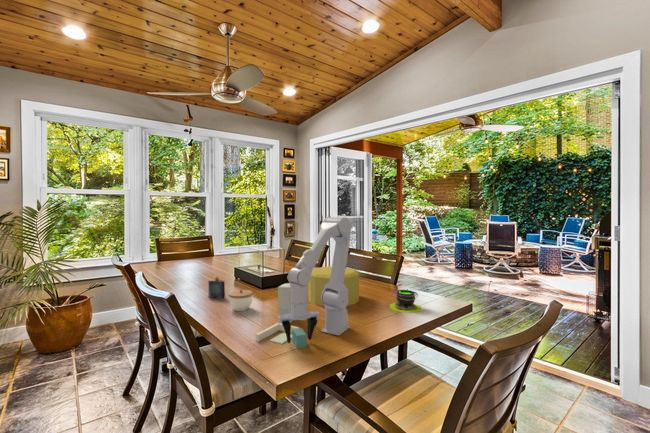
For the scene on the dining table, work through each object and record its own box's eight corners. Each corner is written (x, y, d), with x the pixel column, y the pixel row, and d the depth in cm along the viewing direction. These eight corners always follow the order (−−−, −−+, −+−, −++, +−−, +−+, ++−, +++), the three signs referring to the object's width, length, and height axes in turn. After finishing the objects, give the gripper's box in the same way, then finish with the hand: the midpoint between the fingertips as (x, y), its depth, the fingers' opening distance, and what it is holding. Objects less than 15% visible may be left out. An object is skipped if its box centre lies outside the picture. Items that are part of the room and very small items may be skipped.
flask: (207, 297, 170) (207, 277, 170) (210, 295, 173) (210, 276, 173) (223, 298, 168) (223, 278, 168) (226, 297, 171) (226, 277, 170)
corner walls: (277, 328, 127) (277, 322, 127) (299, 333, 122) (299, 327, 122) (255, 340, 116) (255, 333, 116) (278, 347, 111) (278, 339, 111)
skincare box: (290, 323, 133) (290, 287, 132) (277, 322, 135) (277, 286, 134) (298, 316, 141) (297, 283, 140) (285, 315, 143) (285, 282, 142)
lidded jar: (257, 307, 153) (257, 288, 153) (241, 314, 144) (241, 293, 143) (240, 304, 158) (240, 285, 158) (224, 310, 149) (223, 290, 149)
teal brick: (292, 341, 115) (292, 329, 115) (301, 340, 117) (301, 328, 116) (296, 348, 110) (296, 335, 110) (306, 347, 111) (306, 334, 111)
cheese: (343, 290, 185) (343, 264, 184) (368, 302, 161) (369, 273, 161) (301, 295, 174) (301, 268, 173) (321, 310, 150) (321, 278, 150)
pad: (283, 333, 123) (283, 332, 123) (295, 336, 120) (295, 335, 120) (269, 340, 116) (269, 340, 116) (282, 344, 113) (281, 343, 113)
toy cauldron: (396, 313, 145) (396, 289, 145) (385, 303, 160) (385, 281, 160) (427, 312, 147) (428, 288, 147) (413, 302, 162) (414, 280, 162)
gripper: (281, 307, 106) (281, 348, 107) (322, 302, 111) (322, 341, 112) (276, 301, 113) (276, 339, 114) (315, 297, 118) (315, 334, 119)
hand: (299, 340), depth 113 cm, fingers open, 7 cm apart
